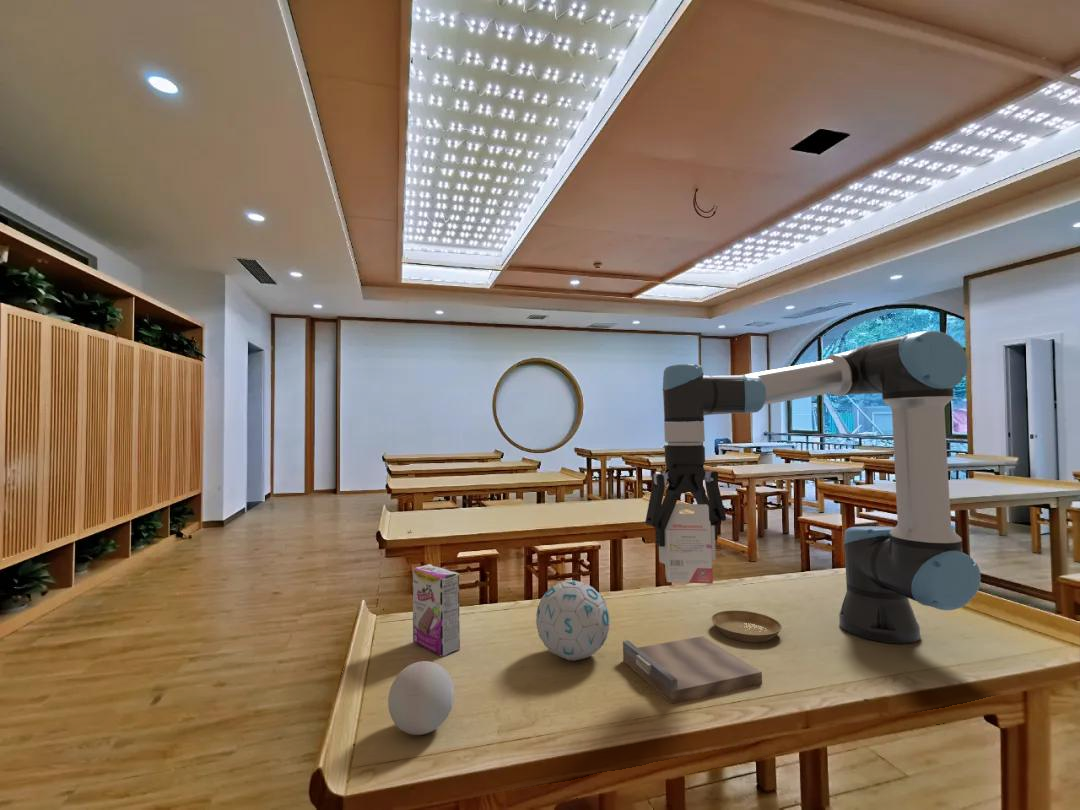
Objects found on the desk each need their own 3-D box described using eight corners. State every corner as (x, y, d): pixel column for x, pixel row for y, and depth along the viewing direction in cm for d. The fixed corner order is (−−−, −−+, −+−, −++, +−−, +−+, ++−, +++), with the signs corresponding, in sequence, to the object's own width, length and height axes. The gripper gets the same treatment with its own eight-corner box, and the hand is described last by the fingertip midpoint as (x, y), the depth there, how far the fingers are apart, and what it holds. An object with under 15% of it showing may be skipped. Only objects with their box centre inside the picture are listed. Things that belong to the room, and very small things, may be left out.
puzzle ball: (557, 680, 94) (555, 598, 94) (525, 649, 107) (523, 577, 108) (625, 663, 100) (623, 586, 101) (586, 635, 114) (585, 568, 114)
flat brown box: (702, 645, 107) (702, 627, 108) (762, 683, 91) (761, 661, 91) (620, 661, 101) (620, 641, 101) (668, 704, 85) (668, 681, 85)
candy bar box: (411, 643, 111) (410, 567, 112) (430, 636, 115) (429, 563, 116) (441, 658, 104) (441, 577, 104) (461, 650, 107) (460, 572, 108)
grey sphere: (396, 713, 84) (396, 651, 84) (458, 710, 84) (457, 649, 85) (380, 751, 74) (380, 681, 74) (450, 748, 74) (450, 678, 75)
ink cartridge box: (709, 576, 99) (707, 501, 99) (713, 584, 94) (711, 504, 95) (664, 575, 100) (662, 500, 101) (665, 582, 95) (663, 504, 96)
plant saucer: (738, 616, 124) (738, 605, 124) (796, 636, 112) (795, 624, 112) (698, 630, 116) (697, 618, 116) (755, 653, 104) (754, 640, 104)
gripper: (718, 442, 106) (721, 551, 104) (624, 445, 98) (627, 561, 97) (743, 443, 98) (747, 559, 97) (645, 446, 91) (648, 571, 90)
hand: (687, 560), depth 97 cm, fingers closed on ink cartridge box, 9 cm apart
